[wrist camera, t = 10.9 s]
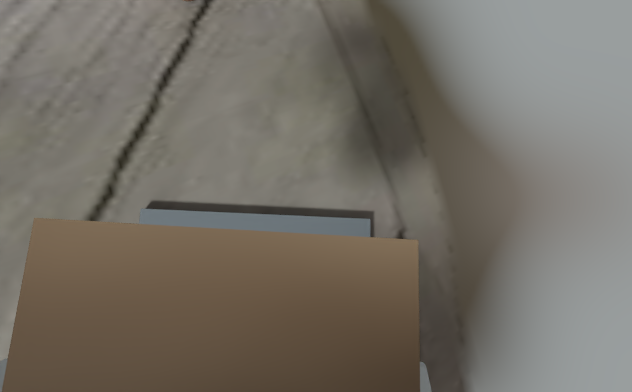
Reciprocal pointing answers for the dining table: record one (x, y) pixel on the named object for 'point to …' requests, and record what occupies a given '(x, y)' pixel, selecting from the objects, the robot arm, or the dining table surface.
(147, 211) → the housing
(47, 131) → the dining table surface
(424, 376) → the robot arm
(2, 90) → the dining table surface
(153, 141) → the dining table surface
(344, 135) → the dining table surface
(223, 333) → the block
